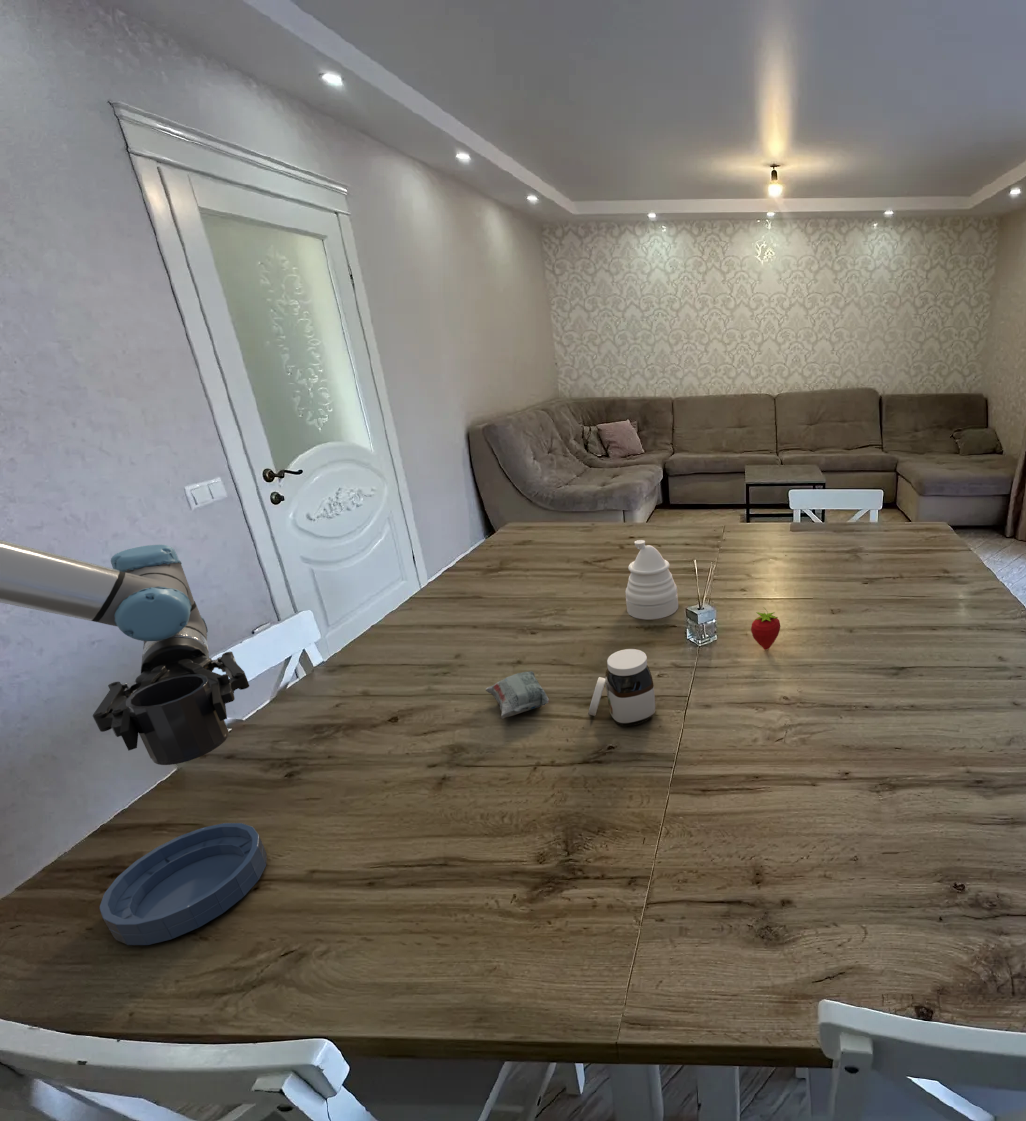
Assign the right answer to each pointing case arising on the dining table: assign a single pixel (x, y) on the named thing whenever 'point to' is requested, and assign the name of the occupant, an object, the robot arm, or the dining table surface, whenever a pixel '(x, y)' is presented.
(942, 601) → the dining table surface
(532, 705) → the packaged food
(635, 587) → the honey pot
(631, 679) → the spread jar
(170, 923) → the plate
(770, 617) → the strawberry
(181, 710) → the coffee cup
